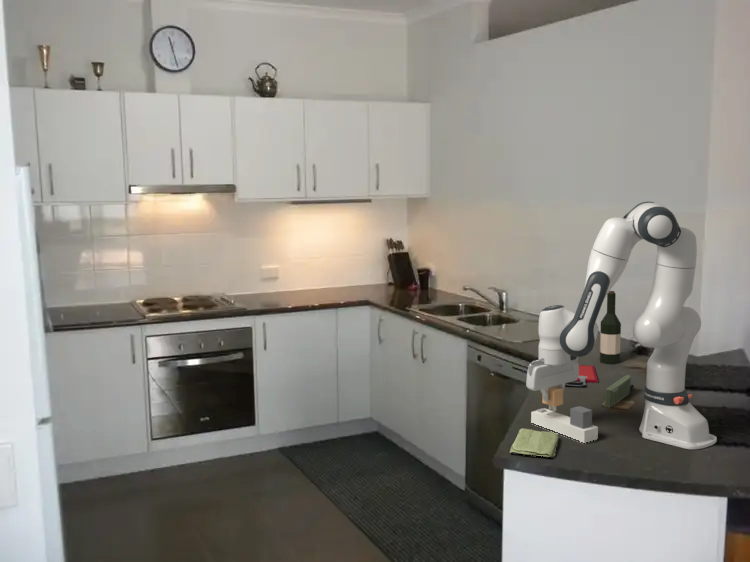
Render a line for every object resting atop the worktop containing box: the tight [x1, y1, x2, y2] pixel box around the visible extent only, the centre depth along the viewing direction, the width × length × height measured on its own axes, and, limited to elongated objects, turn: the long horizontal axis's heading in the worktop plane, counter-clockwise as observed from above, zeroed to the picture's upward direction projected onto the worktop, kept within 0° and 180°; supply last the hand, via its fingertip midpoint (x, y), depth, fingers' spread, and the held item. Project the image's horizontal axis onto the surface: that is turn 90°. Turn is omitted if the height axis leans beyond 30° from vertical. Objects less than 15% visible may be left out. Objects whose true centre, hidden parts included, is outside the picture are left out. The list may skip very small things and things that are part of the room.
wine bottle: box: [599, 290, 622, 365], centre depth 312 cm, size 8×8×30 cm
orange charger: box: [541, 386, 564, 412], centre depth 238 cm, size 5×4×7 cm
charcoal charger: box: [569, 405, 593, 429], centre depth 228 cm, size 5×4×7 cm
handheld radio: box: [603, 374, 635, 408], centre depth 266 cm, size 7×3×25 cm
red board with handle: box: [565, 364, 599, 387], centre depth 294 cm, size 30×3×15 cm
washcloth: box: [509, 428, 559, 458], centre depth 223 cm, size 13×18×3 cm
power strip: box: [530, 407, 599, 444], centre depth 235 cm, size 22×6×5 cm, turn 33°
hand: (552, 398), depth 238 cm, fingers closed on orange charger, 4 cm apart
